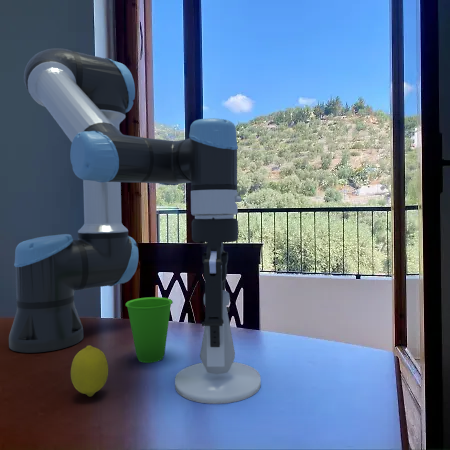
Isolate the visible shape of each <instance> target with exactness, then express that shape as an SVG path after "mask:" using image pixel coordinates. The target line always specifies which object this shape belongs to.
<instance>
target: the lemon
mask: <svg viewBox="0 0 450 450" xmlns="http://www.w3.org/2000/svg"><path fill="white" fill-rule="evenodd" d="M108 377H109V364H108V360H107V356H106V355H105V353H104V352H103V351H102V350H101V349H99V348H98V347H94V346H92V345H86V347H84V348H81V349H80V351H78V352H77V353H76V354H75V356H74V358H73V359H72V362H71V366H70V380H71V383H72V384H73V385H72V386H73V387H74V388H75V390H76V391H78V392H79V393H81V394H82V395H83V394H85V395H87V397H93V396H94V395H95V394H96V393H97V392H99V391H100V390H101V389H102V388H103V387H104V386H105V385H106V382H107V381H108Z"/></svg>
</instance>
